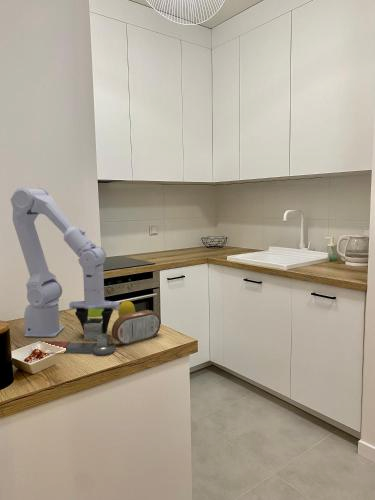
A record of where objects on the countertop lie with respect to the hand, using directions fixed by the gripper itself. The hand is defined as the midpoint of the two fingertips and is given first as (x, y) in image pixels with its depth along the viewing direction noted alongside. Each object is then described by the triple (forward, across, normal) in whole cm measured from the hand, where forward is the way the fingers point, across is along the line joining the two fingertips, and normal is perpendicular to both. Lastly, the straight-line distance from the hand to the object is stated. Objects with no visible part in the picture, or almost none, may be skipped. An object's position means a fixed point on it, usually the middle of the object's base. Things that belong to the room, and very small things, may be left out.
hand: (95, 332), depth 110 cm
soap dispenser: (+2, -6, +21) cm, 22 cm away
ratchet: (+2, -3, -10) cm, 10 cm away
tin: (+2, +13, -2) cm, 13 cm away
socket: (+1, 0, 0) cm, 1 cm away
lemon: (+2, +7, +12) cm, 14 cm away
